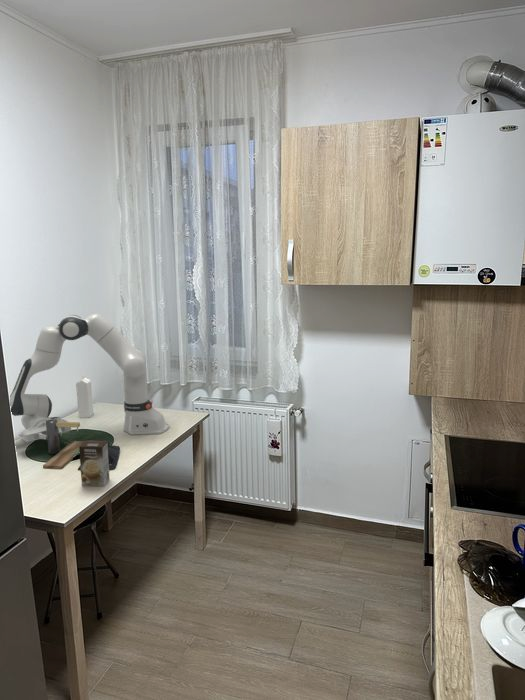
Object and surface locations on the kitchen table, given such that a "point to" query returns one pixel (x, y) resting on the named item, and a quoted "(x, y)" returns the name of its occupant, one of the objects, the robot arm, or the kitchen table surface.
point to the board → (63, 456)
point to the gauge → (56, 433)
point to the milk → (84, 398)
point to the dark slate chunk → (111, 456)
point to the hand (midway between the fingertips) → (53, 435)
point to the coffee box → (94, 463)
